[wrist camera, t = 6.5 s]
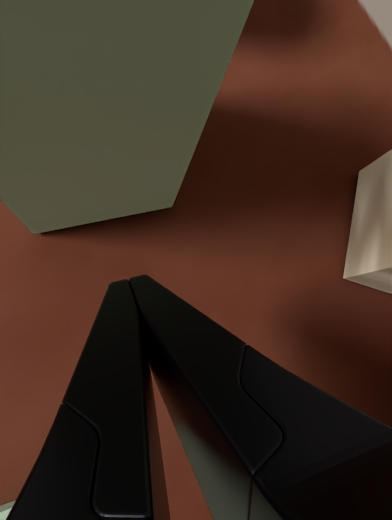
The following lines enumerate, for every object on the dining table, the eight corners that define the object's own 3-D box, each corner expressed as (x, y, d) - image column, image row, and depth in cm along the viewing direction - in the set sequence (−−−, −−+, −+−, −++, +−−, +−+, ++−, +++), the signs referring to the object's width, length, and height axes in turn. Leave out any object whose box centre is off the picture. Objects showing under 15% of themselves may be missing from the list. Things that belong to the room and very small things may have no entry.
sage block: (172, 207, 16) (366, -281, 3) (33, 234, 14) (-642, -483, 2) (140, 90, 16) (193, -658, 4) (5, 104, 15) (-578, -1014, 3)
